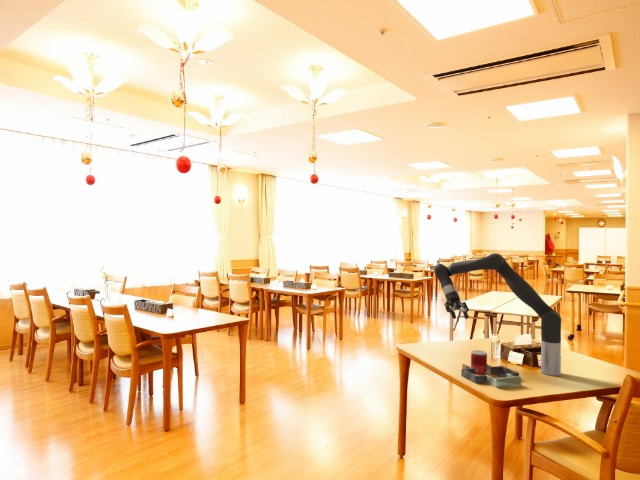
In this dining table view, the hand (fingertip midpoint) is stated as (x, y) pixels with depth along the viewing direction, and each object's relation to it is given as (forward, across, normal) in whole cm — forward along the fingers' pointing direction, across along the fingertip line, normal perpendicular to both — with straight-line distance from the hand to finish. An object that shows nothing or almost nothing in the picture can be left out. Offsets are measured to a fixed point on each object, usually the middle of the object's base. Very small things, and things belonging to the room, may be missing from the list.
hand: (461, 318), depth 240 cm
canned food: (+30, +2, +5) cm, 30 cm away
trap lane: (+35, +1, -2) cm, 35 cm away
